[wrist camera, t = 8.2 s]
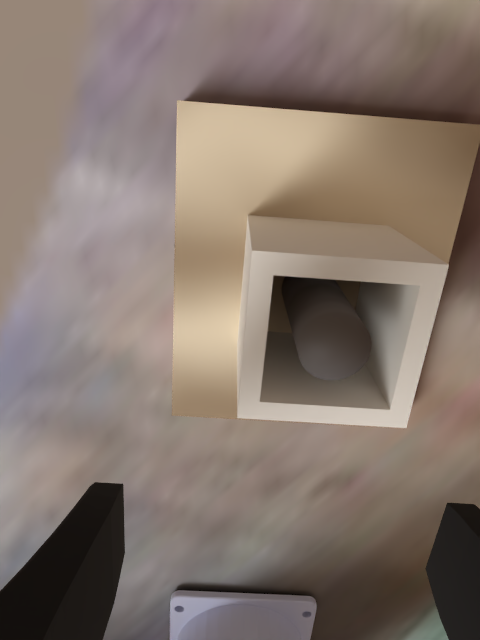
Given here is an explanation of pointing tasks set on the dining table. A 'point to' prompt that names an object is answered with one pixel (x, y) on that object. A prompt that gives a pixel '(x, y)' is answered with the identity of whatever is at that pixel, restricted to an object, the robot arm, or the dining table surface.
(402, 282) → the hollow square tube
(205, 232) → the roll holder
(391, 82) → the dining table surface
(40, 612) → the robot arm
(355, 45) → the dining table surface
